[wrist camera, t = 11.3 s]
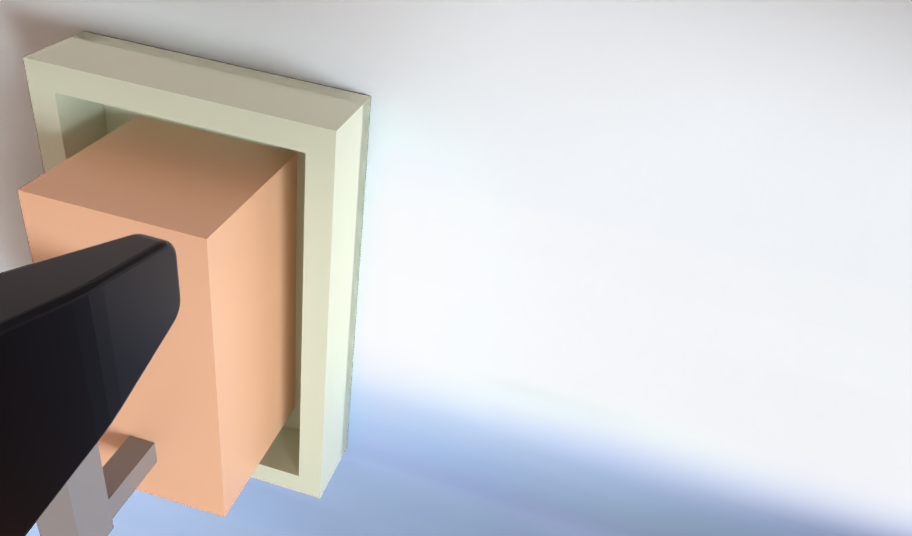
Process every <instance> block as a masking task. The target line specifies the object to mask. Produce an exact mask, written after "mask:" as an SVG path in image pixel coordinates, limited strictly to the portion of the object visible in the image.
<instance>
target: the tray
mask: <svg viewBox="0 0 912 536" xmlns="http://www.w3.org/2000/svg"><path fill="white" fill-rule="evenodd" d="M23 60H24V66H25V71H26V76H27V82H28V87H29V92H30V98H31V103H32V108H33V114H34V119H35V124H36V130H37V135H38V140H39V146H40V151H41V157H42V162H43V167H44V173H46V172H47V171H49V170H51V169H52V168H54V167H56V166H57V165H59V164H60V163H62V162H64V161H65V160H67V159H68V158H70V157H72V156H73V155H75V154H77V153H78V152H80V151H81V150H83V149H85V148H86V147H88V146H89V145H91V144H93V143H94V142H96V141H98V140H99V139H101V138H102V137H104V136H106V135H107V134H109V133H111V132H112V131H114V130H115V129H117V128H119V127H120V126H122V125H123V124H125V123H127V122H128V121H130V120H132V119H133V118H135V117H136V116H138V115H140V116H144V117H148V118H152V119H156V120H161V121H165V122H169V123H173V124H177V125H182V126H186V127H190V128H194V129H198V130H203V131H207V132H211V133H215V134H219V135H224V136H228V137H232V138H236V139H240V140H245V141H249V142H253V143H257V144H262V145H266V146H270V147H274V148H278V149H283V150H287V151H291V152H295V153H297V228H296V326H295V408H294V410H293V411H292V413H291V414H290V416H289V417H288V419H287V421H286V422H285V424H284V425H283V427H282V428H281V430H280V432H279V433H278V435H277V436H276V438H275V439H274V441H273V442H272V444H271V446H270V447H269V449H268V450H267V452H266V453H265V455H264V457H263V458H262V460H261V461H260V463H259V464H258V466H257V468H256V469H255V471H254V472H253V474H252V475H251V477H253V478H256V479H259V480H262V481H266V482H269V483H272V484H275V485H279V486H282V487H285V488H288V489H292V490H295V491H298V492H301V493H305V494H308V495H311V496H314V497H318V498H321V496H322V494H323V492H324V490H325V488H326V486H327V484H328V483H329V481H330V479H331V477H332V475H333V473H334V471H335V469H336V467H337V465H338V463H339V462H340V460H341V458H342V456H343V454H344V452H345V450H346V448H347V440H348V426H349V411H350V397H351V382H352V368H353V353H354V339H355V324H356V310H357V295H358V281H359V266H360V252H361V237H362V223H363V208H364V194H365V179H366V165H367V150H368V136H369V121H370V107H371V96H367V95H362V94H358V93H354V92H349V91H345V90H340V89H336V88H332V87H327V86H323V85H318V84H314V83H310V82H305V81H301V80H296V79H292V78H288V77H283V76H279V75H274V74H270V73H266V72H261V71H257V70H252V69H248V68H243V67H239V66H235V65H230V64H226V63H221V62H217V61H213V60H208V59H204V58H199V57H195V56H191V55H186V54H182V53H177V52H173V51H169V50H164V49H160V48H155V47H151V46H147V45H142V44H138V43H133V42H129V41H124V40H120V39H116V38H111V37H107V36H102V35H98V34H94V33H89V32H85V31H83V32H81V33H79V34H76V35H74V36H72V37H69V38H67V39H65V40H62V41H60V42H58V43H55V44H53V45H51V46H48V47H46V48H44V49H41V50H39V51H37V52H34V53H32V54H30V55H27V56H25V57H23Z"/></svg>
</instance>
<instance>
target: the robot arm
mask: <svg viewBox="0 0 912 536" xmlns="http://www.w3.org/2000/svg"><path fill="white" fill-rule="evenodd" d="M179 308H180V287H179V276H178V265H177V255H176V250H175V248H174V246H173V245H172V244H171V243H170V242H169V241H167V240H163V239H160V238H156V237H152V236H148V235H145V234H132V235H129V236H126V237H122V238H119V239H115V240H112V241H108V242H105V243H102V244H98V245H95V246H91V247H88V248H84V249H81V250H78V251H74V252H71V253H67V254H64V255H60V256H57V257H53V258H50V259H47V260H43V261H40V262H36V263H33V264H29V265H26V266H23V267H19V268H16V269H12V270H9V271H5V272H2V273H0V536H26V534H27V533H28V532H29V530H30V529H31V528H32V526H33V525H34V524H35V523H36V521H37V520H38V519H39V517H40V516H41V515H42V514H43V512H44V511H45V510H46V508H47V507H48V506H49V504H50V503H51V502H52V501H53V499H54V498H55V497H56V495H57V494H58V493H59V492H60V490H61V489H62V488H63V486H64V485H65V484H66V482H67V481H68V480H69V479H70V477H71V476H72V475H73V473H74V472H75V471H76V470H77V468H78V467H79V466H80V464H81V463H82V462H83V460H84V459H85V458H86V457H87V455H88V454H89V453H90V451H91V450H92V449H93V448H94V446H95V445H96V444H97V442H98V441H99V440H100V438H101V437H102V436H103V434H104V433H105V432H106V430H107V429H108V427H109V426H110V425H111V423H112V422H113V420H114V419H115V417H116V416H117V414H118V413H119V411H120V410H121V408H122V407H123V405H124V403H125V402H126V400H127V398H128V397H129V395H130V393H131V392H132V390H133V389H134V387H135V385H136V384H137V382H138V380H139V379H140V377H141V376H142V374H143V372H144V371H145V369H146V367H147V366H148V364H149V362H150V361H151V359H152V358H153V356H154V354H155V353H156V351H157V349H158V348H159V346H160V344H161V343H162V341H163V340H164V338H165V336H166V335H167V333H168V331H169V330H170V328H171V326H172V325H173V323H174V321H175V319H176V317H177V315H178V312H179Z"/></svg>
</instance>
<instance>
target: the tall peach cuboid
mask: <svg viewBox="0 0 912 536" xmlns="http://www.w3.org/2000/svg"><path fill="white" fill-rule="evenodd" d="M17 191H18V195H19V200H20V205H21V209H22V214H23V218H24V223H25V228H26V232H27V237H28V242H29V246H30V251H31V256H32V260H33V263H36V262H40V261H43V260H47V259H50V258H53V257H57V256H60V255H64V254H67V253H71V252H74V251H78V250H81V249H84V248H88V247H91V246H95V245H98V244H102V243H105V242H108V241H112V240H115V239H119V238H122V237H126V236H129V235H132V234H145V235H148V236H152V237H156V238H160V239H163V240H167V241H169V242H170V243H171V244H172V245H173V246H174V248H175V250H176V255H177V265H178V276H179V287H180V308H179V312H178V315H177V317H176V319H175V321H174V323H173V325H172V326H171V328H170V330H169V331H168V333H167V335H166V336H165V338H164V340H163V341H162V343H161V344H160V346H159V348H158V349H157V351H156V353H155V354H154V356H153V358H152V359H151V361H150V362H149V364H148V366H147V367H146V369H145V371H144V372H143V374H142V376H141V377H140V379H139V380H138V382H137V384H136V385H135V387H134V389H133V390H132V392H131V393H130V395H129V397H128V398H127V400H126V402H125V403H124V405H123V407H122V408H121V410H120V411H119V413H118V414H117V416H116V417H115V419H114V420H113V422H112V423H111V425H110V426H109V427H108V429H107V430H106V432H105V433H104V434H103V436H102V437H101V438H100V440H99V441H98V442H97V444H96V445H95V446H94V448H93V449H92V450H91V451H90V453H89V454H88V455H87V457H86V458H85V459H84V460H83V462H82V463H81V464H80V466H79V467H78V468H77V470H76V471H75V472H74V473H73V475H72V476H71V477H70V479H69V480H68V481H67V482H66V484H65V485H64V486H63V488H62V489H61V490H60V492H59V493H58V494H57V495H56V497H55V498H54V499H53V501H52V502H51V503H50V504H49V506H48V507H47V508H46V510H45V511H44V512H43V514H42V515H41V516H40V517H39V519H38V520H37V521H36V522H37V526H38V529H39V533H40V536H108V534H109V533H110V532H111V531H112V529H113V528H114V526H113V521H112V519H113V517H114V516H115V515H116V514H117V512H118V511H119V510H120V508H121V507H122V506H123V505H124V503H125V502H126V501H127V500H128V498H129V497H130V496H131V495H132V493H133V492H134V491H135V489H137V490H140V491H143V492H146V493H149V494H153V495H156V496H159V497H162V498H165V499H168V500H172V501H175V502H178V503H181V504H184V505H187V506H191V507H194V508H197V509H200V510H203V511H206V512H210V513H213V514H216V515H219V516H222V517H225V516H226V515H227V513H228V511H229V510H230V508H231V507H232V505H233V504H234V502H235V500H236V499H237V497H238V496H239V494H240V493H241V491H242V489H243V488H244V486H245V485H246V483H247V482H248V480H249V479H250V477H251V475H252V474H253V472H254V471H255V469H256V468H257V466H258V464H259V463H260V461H261V460H262V458H263V457H264V455H265V453H266V452H267V450H268V449H269V447H270V446H271V444H272V442H273V441H274V439H275V438H276V436H277V435H278V433H279V432H280V430H281V428H282V427H283V425H284V424H285V422H286V421H287V419H288V417H289V416H290V414H291V413H292V411H293V410H294V408H295V326H296V228H297V153H295V152H291V151H287V150H283V149H278V148H274V147H270V146H266V145H262V144H257V143H253V142H249V141H245V140H240V139H236V138H232V137H228V136H224V135H219V134H215V133H211V132H207V131H203V130H198V129H194V128H190V127H186V126H182V125H177V124H173V123H169V122H165V121H161V120H156V119H152V118H148V117H144V116H140V115H138V116H136V117H135V118H133V119H132V120H130V121H128V122H127V123H125V124H123V125H122V126H120V127H119V128H117V129H115V130H114V131H112V132H111V133H109V134H107V135H106V136H104V137H102V138H101V139H99V140H98V141H96V142H94V143H93V144H91V145H89V146H88V147H86V148H85V149H83V150H81V151H80V152H78V153H77V154H75V155H73V156H72V157H70V158H68V159H67V160H65V161H64V162H62V163H60V164H59V165H57V166H56V167H54V168H52V169H51V170H49V171H47V172H46V173H44V174H43V175H41V176H39V177H38V178H36V179H34V180H33V181H31V182H30V183H28V184H26V185H25V186H23V187H22V188H20V189H18V190H17Z"/></svg>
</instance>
